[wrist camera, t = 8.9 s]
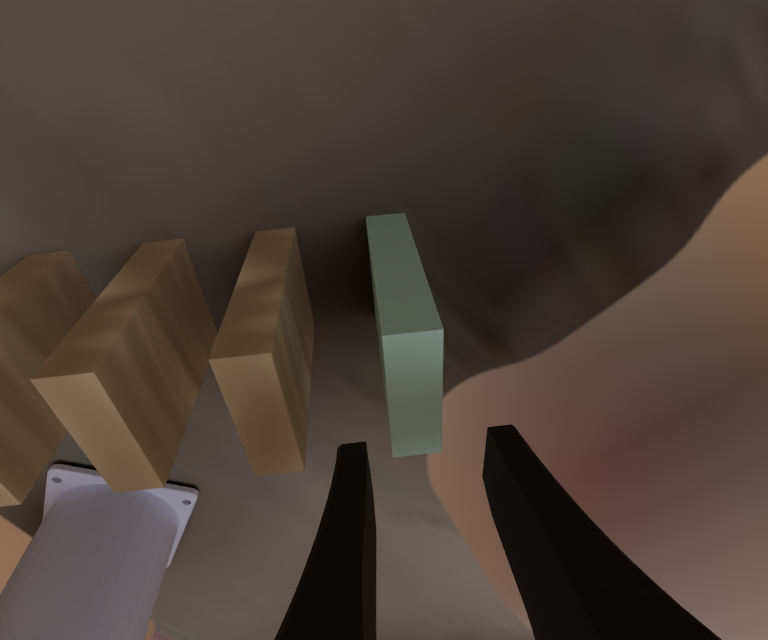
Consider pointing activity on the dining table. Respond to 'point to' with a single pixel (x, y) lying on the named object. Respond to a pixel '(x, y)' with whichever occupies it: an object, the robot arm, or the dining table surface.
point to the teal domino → (406, 337)
